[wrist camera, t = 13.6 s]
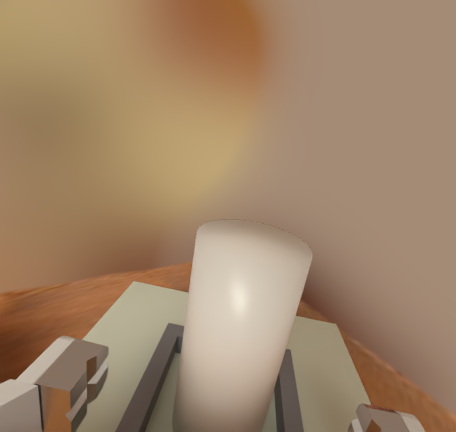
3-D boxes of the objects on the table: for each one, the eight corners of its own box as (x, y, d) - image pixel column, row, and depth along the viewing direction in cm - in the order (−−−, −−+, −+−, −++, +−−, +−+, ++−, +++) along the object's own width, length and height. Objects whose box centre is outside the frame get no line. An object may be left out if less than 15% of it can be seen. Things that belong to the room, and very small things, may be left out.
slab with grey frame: (-84, 581, 9) (-110, 520, 8) (132, 302, 25) (134, 267, 24) (471, 748, 8) (537, 706, 7) (328, 345, 24) (341, 311, 23)
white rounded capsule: (158, 458, 12) (181, 252, 9) (186, 368, 17) (208, 213, 13) (261, 485, 12) (327, 282, 8) (260, 385, 16) (301, 230, 13)
